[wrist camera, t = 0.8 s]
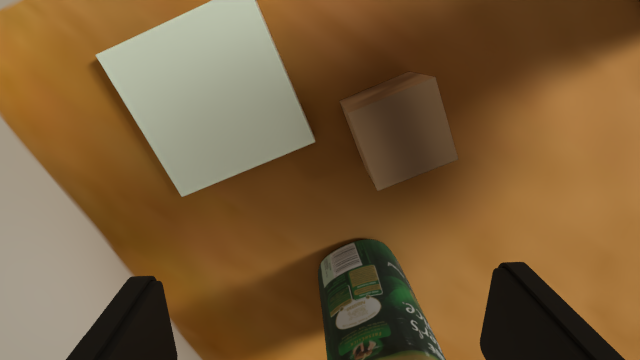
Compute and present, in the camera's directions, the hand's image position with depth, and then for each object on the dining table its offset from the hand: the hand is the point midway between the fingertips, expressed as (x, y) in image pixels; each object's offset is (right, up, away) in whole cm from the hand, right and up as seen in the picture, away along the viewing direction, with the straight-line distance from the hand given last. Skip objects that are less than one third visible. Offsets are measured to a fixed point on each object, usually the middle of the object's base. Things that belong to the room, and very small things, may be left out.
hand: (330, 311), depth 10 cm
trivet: (-9, +10, +18) cm, 22 cm away
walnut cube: (+5, +9, +19) cm, 22 cm away
